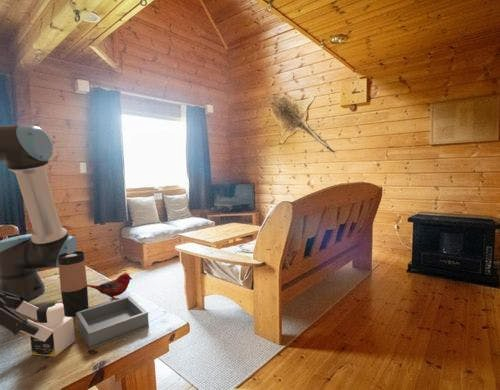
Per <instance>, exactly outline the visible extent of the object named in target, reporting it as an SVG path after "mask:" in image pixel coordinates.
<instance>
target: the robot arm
mask: <svg viewBox="0 0 500 390" xmlns="http://www.w3.org/2000/svg"><path fill="white" fill-rule="evenodd" d="M53 150H54V147H53V143H52V141H51V138H50V137H49V135H48V133H47V132H46V131H45V130H43V128H41V127H39V126H36V125H25V124H19V125H18V124H17V125H0V162H3V163H4V162H5V163H6V164H5V165H6V167H7V169H8V171H11V172H13V173H14V174H15V176H16V179H17V183H18V186H19V189H20V192H21V196H22V198H23V202H24V205H25V208H26V211H27V215H28V218H29V221H30V223H31V226H32V227H31V228H32V230H33V233H34V234H33V233H27V234H20V235H17V236H16V235H15V236H12V237H8V238H5V239H2V240H0V326H1V327H3V328H5V329H7V330H8V331H10V332H11V333H12V335H15V336H16V335H18V334H19V333H23V334H25V335H27V336H29V337H30V336H32V337H34V338H37V339H39V340H41V341H44V342H45V341H46V340H47V338H48V337H49V336H50V335H51V334H52V332H53V330H51V329H49V328H47V327H44V326H42V325H40V324H38V322H36V321H37V313H36V311H37V310H38V308H39V307H38V306H35V305H33V304H31V303H29V302H27V301H29V300H32V299H34V298H36V297H38V296H40V295H41V296H42V295H43V293H44V292H46V291H45V290H46V288H45V283H44V281H43V280H42V278H41V276H40V274H39V272H38V269H49V268H50V269H51V268H57V269H59V265H58V256H59V255H61V254H63V253H67V254H71V253H74V252H75V251H78V239H77V238H76V237H75V236H74V235H69V232H68V230H67V228H64V227H62V225H61V221H60V217H59V214H58V211H57V206H56V203H55V199H54V196H53V191H52V188H51V184H50V181H49V178H48V173H47V170H46V168H47V167H48V165H49V160H50V159H51V158H52V157H53V154H54V152H53ZM14 309H15V311H14ZM17 312H18V313H19V314H21V315H24V316H27V317H29V318H30V319H28V318H27V319H25V318H24V317H22V316H21V315H19V314H18V313H17ZM31 319H32V320H31ZM33 320H35V321H33Z"/></svg>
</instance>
